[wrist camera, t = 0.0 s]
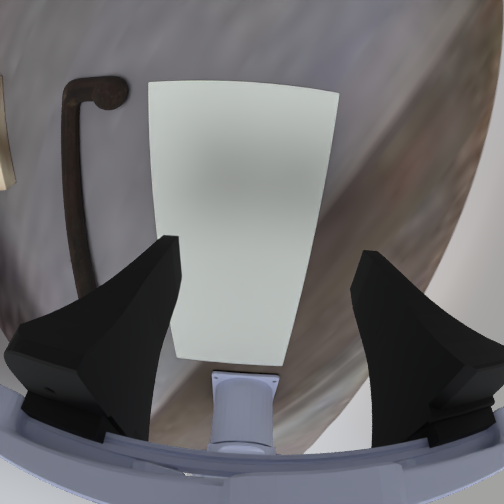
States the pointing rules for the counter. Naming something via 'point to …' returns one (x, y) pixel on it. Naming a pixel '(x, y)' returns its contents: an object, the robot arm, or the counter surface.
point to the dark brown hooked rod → (105, 97)
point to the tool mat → (238, 208)
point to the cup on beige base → (4, 149)
